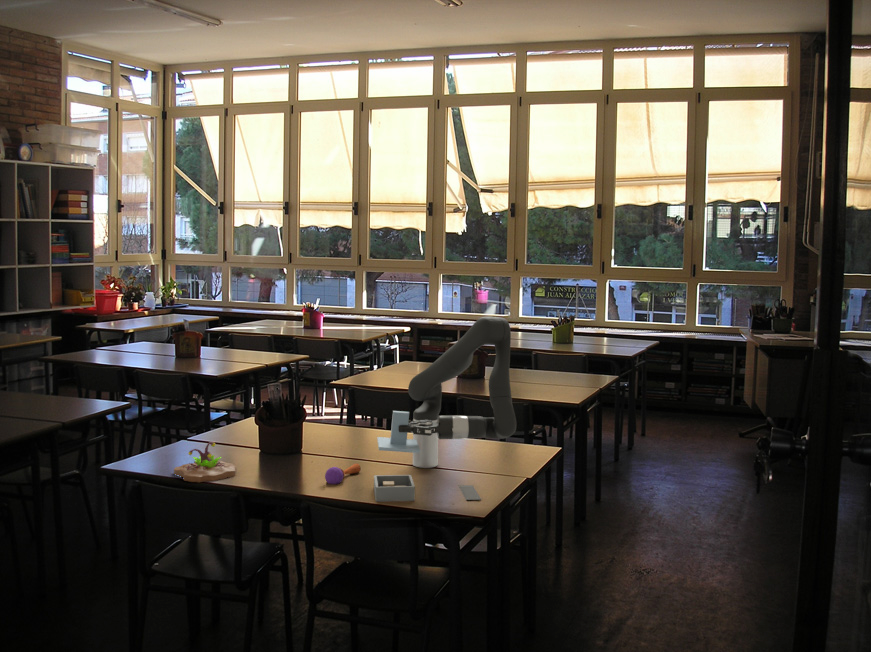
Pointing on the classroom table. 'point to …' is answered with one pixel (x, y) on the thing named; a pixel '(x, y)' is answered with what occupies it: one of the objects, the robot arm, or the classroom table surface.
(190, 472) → the plant
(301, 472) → the classroom table surface
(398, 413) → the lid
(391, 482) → the wooden block
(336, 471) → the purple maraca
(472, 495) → the rubber mat
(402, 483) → the parts tub
